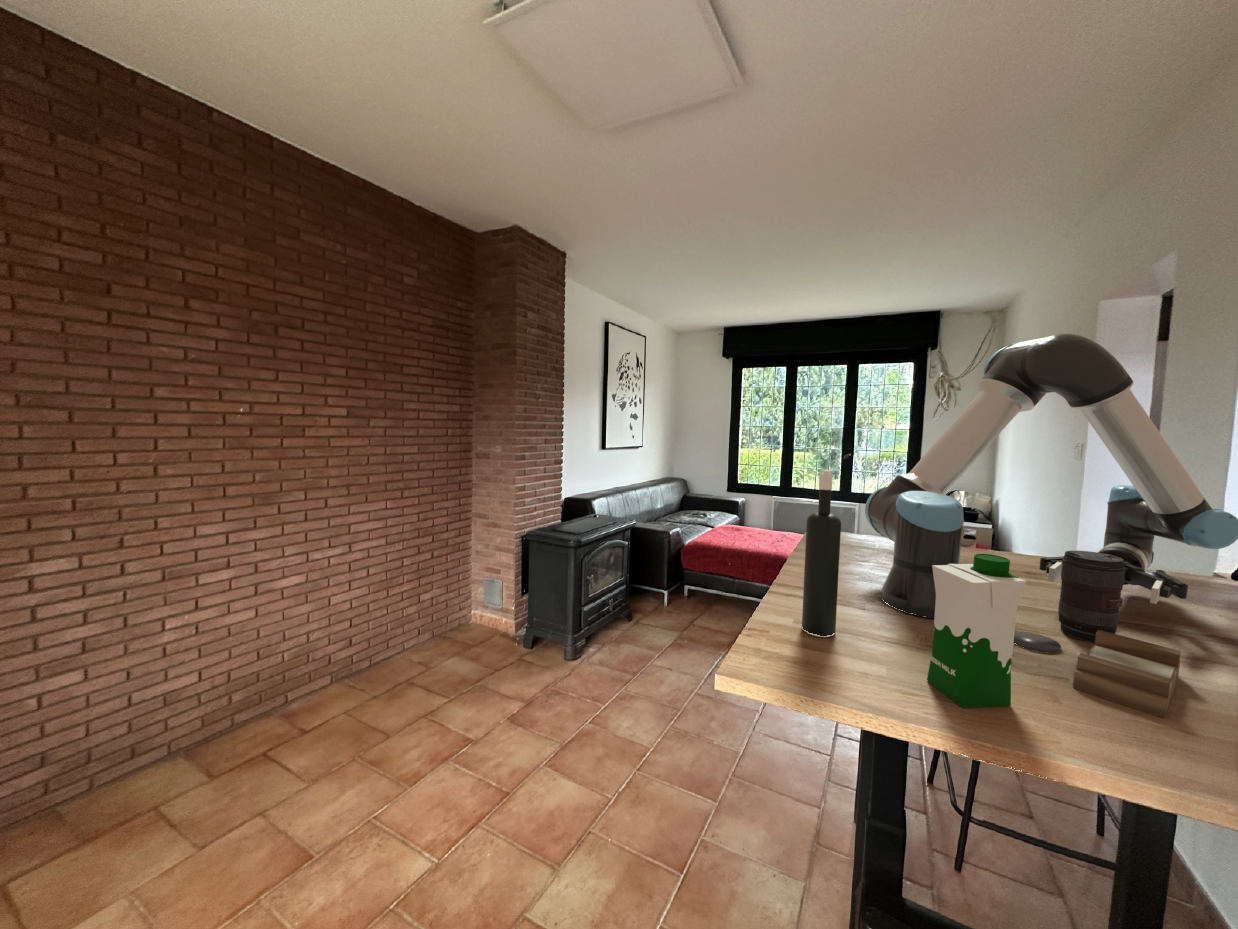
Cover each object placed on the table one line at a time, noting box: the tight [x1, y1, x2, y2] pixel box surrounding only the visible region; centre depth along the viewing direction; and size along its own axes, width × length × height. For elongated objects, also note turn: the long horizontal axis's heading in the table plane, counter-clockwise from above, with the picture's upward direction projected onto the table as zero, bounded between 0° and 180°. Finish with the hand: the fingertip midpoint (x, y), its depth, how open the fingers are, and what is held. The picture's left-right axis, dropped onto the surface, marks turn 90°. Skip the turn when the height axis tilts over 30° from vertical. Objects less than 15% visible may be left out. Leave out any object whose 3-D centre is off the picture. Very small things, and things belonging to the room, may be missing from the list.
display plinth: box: [1072, 630, 1182, 719], centre depth 72 cm, size 17×9×4 cm, turn 127°
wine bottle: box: [801, 469, 842, 636], centre depth 88 cm, size 6×6×30 cm
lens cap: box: [1013, 630, 1062, 654], centre depth 85 cm, size 7×7×1 cm
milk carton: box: [926, 553, 1027, 709], centre depth 69 cm, size 9×9×20 cm
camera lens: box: [1057, 550, 1125, 644], centre depth 87 cm, size 8×8×15 cm
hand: (1099, 584), depth 89 cm, fingers open, 13 cm apart
